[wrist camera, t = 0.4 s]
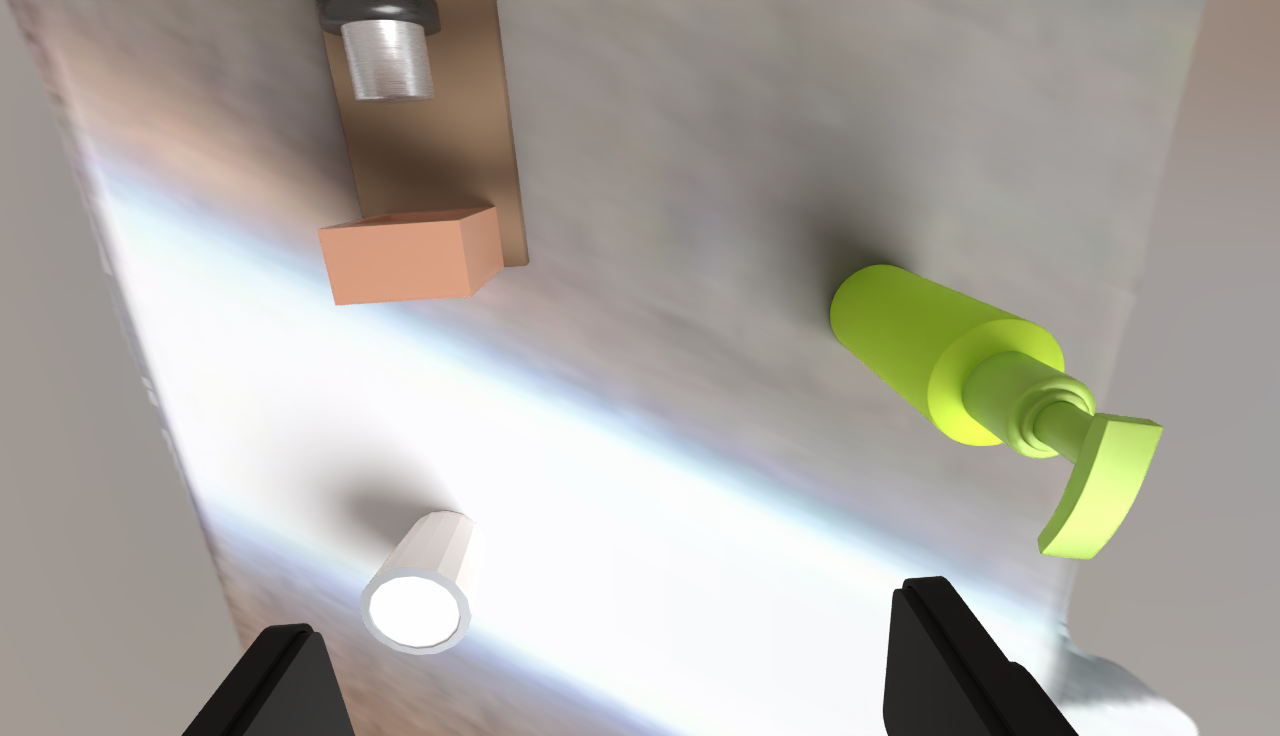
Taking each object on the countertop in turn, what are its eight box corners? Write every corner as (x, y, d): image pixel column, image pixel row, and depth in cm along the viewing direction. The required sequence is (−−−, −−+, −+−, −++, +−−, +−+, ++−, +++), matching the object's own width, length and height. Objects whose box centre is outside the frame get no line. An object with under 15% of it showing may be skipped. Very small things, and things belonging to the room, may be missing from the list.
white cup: (386, 560, 43) (342, 632, 37) (420, 488, 41) (381, 551, 35) (472, 595, 45) (445, 671, 38) (510, 526, 43) (488, 594, 36)
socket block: (384, 213, 34) (317, 229, 26) (495, 206, 34) (458, 220, 26) (397, 274, 35) (335, 305, 28) (504, 267, 35) (471, 296, 28)
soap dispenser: (815, 362, 39) (993, 557, 20) (842, 258, 36) (1071, 366, 18) (901, 373, 39) (1155, 575, 20) (933, 271, 37) (1253, 390, 18)
